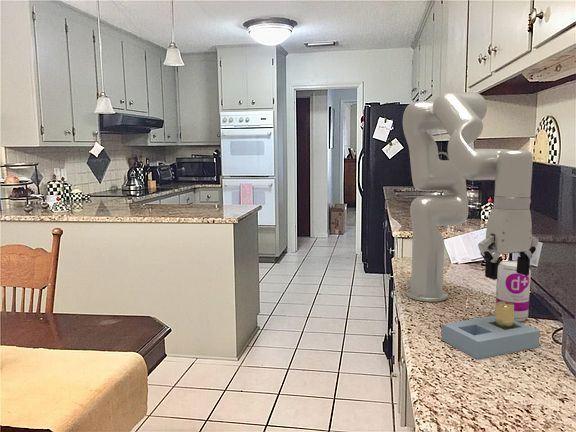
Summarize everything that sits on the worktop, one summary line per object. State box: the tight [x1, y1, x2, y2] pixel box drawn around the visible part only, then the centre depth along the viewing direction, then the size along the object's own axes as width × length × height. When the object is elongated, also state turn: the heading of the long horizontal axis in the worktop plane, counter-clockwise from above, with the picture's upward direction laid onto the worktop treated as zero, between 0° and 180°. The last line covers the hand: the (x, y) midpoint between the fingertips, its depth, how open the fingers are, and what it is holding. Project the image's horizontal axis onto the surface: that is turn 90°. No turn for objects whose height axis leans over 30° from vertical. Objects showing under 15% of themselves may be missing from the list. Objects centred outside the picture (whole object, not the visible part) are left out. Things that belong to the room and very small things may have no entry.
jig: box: [441, 315, 541, 360], centre depth 116 cm, size 12×18×4 cm, turn 111°
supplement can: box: [494, 260, 532, 323], centre depth 134 cm, size 8×8×15 cm
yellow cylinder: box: [494, 302, 514, 330], centre depth 117 cm, size 4×4×8 cm
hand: (507, 276), depth 116 cm, fingers open, 9 cm apart
